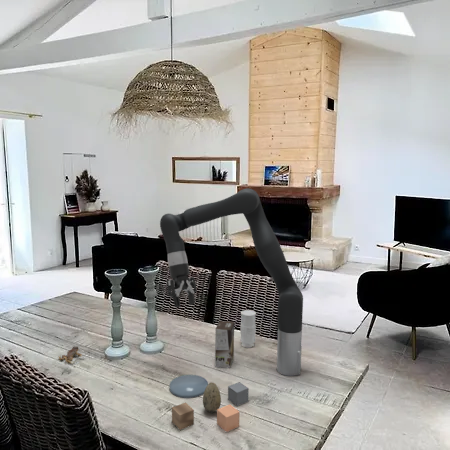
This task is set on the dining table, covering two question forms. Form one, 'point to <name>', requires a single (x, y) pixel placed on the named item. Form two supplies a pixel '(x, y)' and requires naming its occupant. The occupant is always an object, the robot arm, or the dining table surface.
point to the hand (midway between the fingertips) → (185, 305)
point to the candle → (248, 328)
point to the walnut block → (182, 415)
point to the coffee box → (224, 344)
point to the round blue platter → (188, 386)
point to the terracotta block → (228, 418)
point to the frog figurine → (70, 356)
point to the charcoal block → (238, 393)
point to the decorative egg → (211, 398)
